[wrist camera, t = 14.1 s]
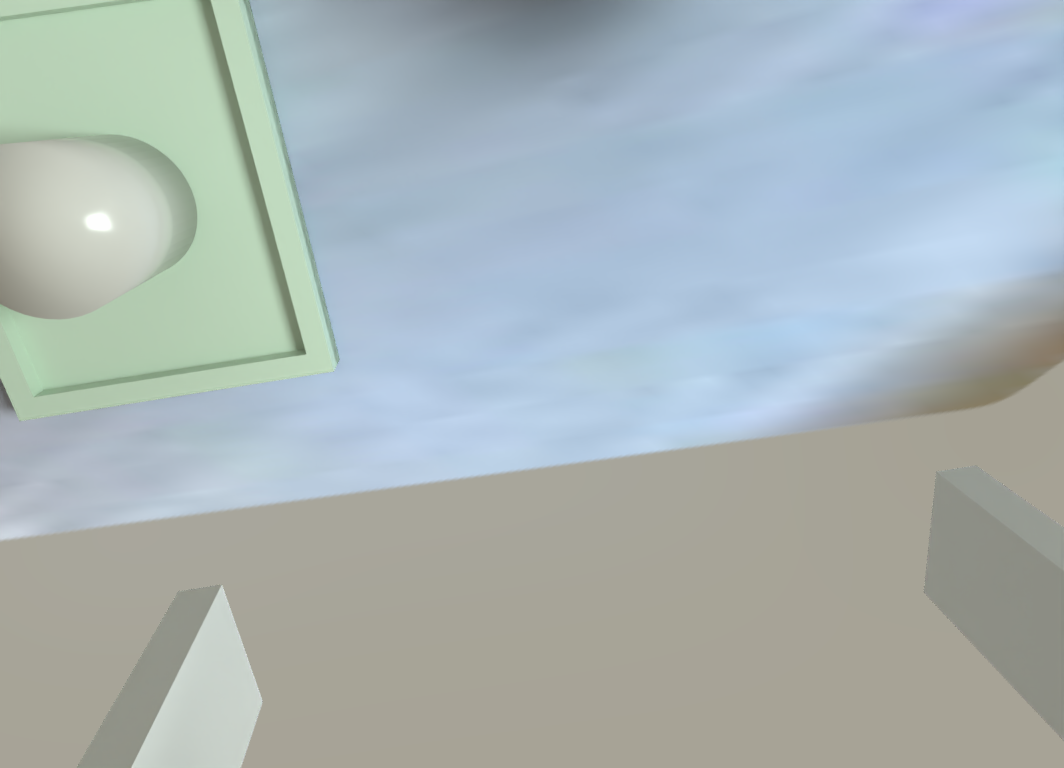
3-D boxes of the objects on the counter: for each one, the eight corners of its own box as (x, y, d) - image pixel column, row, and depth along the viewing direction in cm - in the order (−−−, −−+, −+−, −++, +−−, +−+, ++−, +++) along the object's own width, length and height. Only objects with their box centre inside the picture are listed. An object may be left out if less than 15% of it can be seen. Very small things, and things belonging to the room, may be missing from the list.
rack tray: (-131, 12, 33) (-167, 7, 31) (239, -39, 33) (226, -47, 32) (39, 406, 40) (19, 421, 39) (339, 359, 41) (333, 371, 39)
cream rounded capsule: (26, 145, 35) (-92, 157, 27) (171, 124, 35) (93, 130, 27) (80, 285, 37) (-15, 331, 30) (215, 265, 37) (154, 305, 30)
